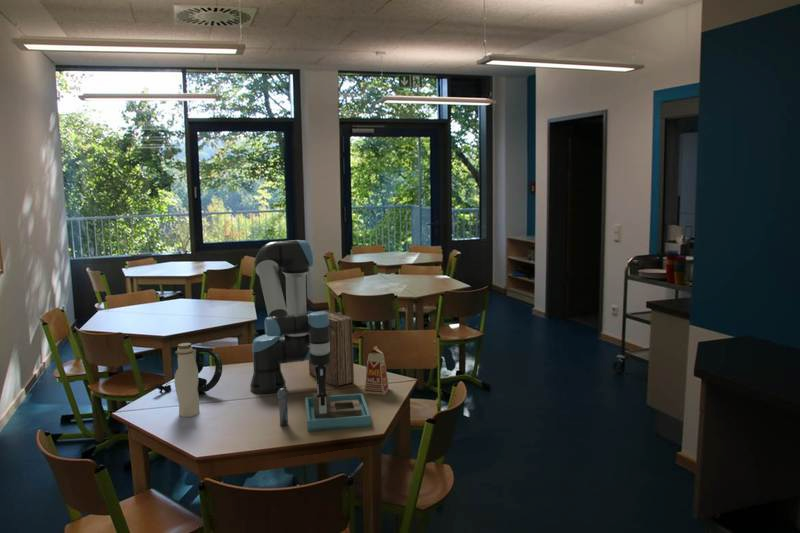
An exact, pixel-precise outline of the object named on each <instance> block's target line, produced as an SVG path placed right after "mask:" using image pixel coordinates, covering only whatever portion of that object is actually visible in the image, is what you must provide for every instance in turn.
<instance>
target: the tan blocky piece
mask: <svg viewBox="0 0 800 533" xmlns="http://www.w3.org/2000/svg"><path fill="white" fill-rule="evenodd" d="M321 394H324V393H321ZM317 395H319V393H317V392H315V393H312V396H313V397H314V415H315V418H321V417H330V418H339V417H352V416H362V410H361V407H360V403H359V400H358V399H357V400H344V401H332V402H330V396H331V394H330V392H329V391H328V392H327V391H326V407H327V413H323V414H319V397H317Z"/></svg>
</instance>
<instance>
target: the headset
mask: <svg viewBox="0 0 800 533" xmlns="http://www.w3.org/2000/svg"><path fill="white" fill-rule="evenodd" d="M204 355H209V356H211V357H212V358H213V362H214V363H213V364H214V367H215V368H214V369H215V370H214V373H213V376H212V378H211V379H210V381H209V382H208V380H207V379H206V378H204V377H203V378H202V377H198V388H197V390H198V394H201V393H203V392H204V393H206V392H208V391H210V390H212V389H213V388H214V387H215V386H216V385H217V384H218V383H219V381H220V380H221V377H222V373H223V361H222V358H221V357H220V355H219V354H218V353H217V352H215V351H212V350H209V349H200V350H196V365H197V368H198V375H199V374H201V372H202V370H203V368H204V364H203V362H202V360H201V358H200V357H202V356H204ZM170 383H172V381H169V382H168V383H166V384H165V386H164V385H162V384H161V383H156V384H155V385H153V386H154V388H156V389H157V390H159V391H158V392H159V394H162V395H164V392H169V391H170V392H171V391H172V385H171V384H170ZM163 391H164V392H163Z"/></svg>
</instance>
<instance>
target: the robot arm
mask: <svg viewBox="0 0 800 533" xmlns="http://www.w3.org/2000/svg"><path fill="white" fill-rule="evenodd" d="M313 257H314V256H313V253H312V248H311V245H310V244H309V242H308V241H307V240H306V239H305V240H304V239H303V240H301V239H294V240H292V239H291V240H279V241H276V240H275V241H270V242H267V243H266V244H264V245H263V246H262V247H260V249H259V251H257V254H256V255H255V259H254V270H255V271H254V272H255V274H257V276H258V278H259V282H260V286H261V292H262V294H263V298H264V303H265V309H266V313H267V317H265V318H264V323H263V324H264V325H263V326H264V331H265V334H262V335H260V336H257V337H256V338H254V339H253V341H252V345H251V346H252V349H251V351H252V359H253V360H252V362H253V363H252V364H253V375H252V377H251V381H250V384H249V386H250V392H253V393H255V394H273V393H277V392H278V390H279V389H281V388H285V389H286V379H285V377H284V375H283V372H282V370H281V368H282V367H281V364H288V363H290V364H291V363H298V362H301V363H302V362H304V361H309V360H310V363H311V364H312V365H317V367H315V372H316V375H317V378H316V384H317V385H316V391H317V392H316V393H319V395H317V397H319V414H323V413H327V407H326V392H327V389H326V388H327V387H326V382H325V380H326V367H324V365H325V364H328V363H330V353H329V352H330V341H329V318H328V314H327V313H326V312H313V311H314V310H309V311H307V280H306V278H307V277H306V276H307V274H308V273H309V272H310V268H311V267H313V265H314V258H313ZM279 269H281V273H282V274H284V277H285V296H284V293H283V289H282V285H281V280H280V276H279V273H278V271H279ZM285 297H286V298H285ZM285 299H286V301H285ZM321 393H324V394H321Z"/></svg>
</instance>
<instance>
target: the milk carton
mask: <svg viewBox="0 0 800 533" xmlns="http://www.w3.org/2000/svg"><path fill="white" fill-rule="evenodd" d="M372 348H373V349H372V350H371V351H370V352H369V353H368V358H367V362H366V369H365V370H366V374H365V375H366V376H365V385H364V389H363V394H368V393H369V394H370V393H371V394H372V395H383V394H385V395H386V393H387V392H388V390H389V379H388V373H387V367H386V366H387V365H386V361H385V356H384V352H382V351H381V350H380V349H378V346H377V345H376V346H373V347H372Z"/></svg>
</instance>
